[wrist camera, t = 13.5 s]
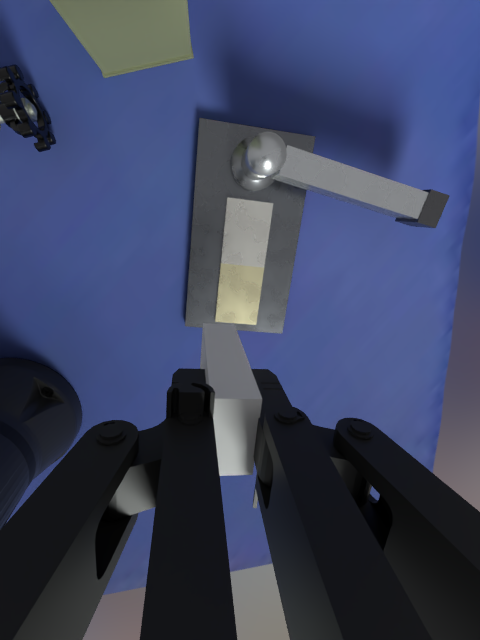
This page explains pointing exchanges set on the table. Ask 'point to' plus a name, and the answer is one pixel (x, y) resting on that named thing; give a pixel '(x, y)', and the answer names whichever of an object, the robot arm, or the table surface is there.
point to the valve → (23, 108)
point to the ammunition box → (129, 32)
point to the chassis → (241, 233)
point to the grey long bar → (341, 181)
